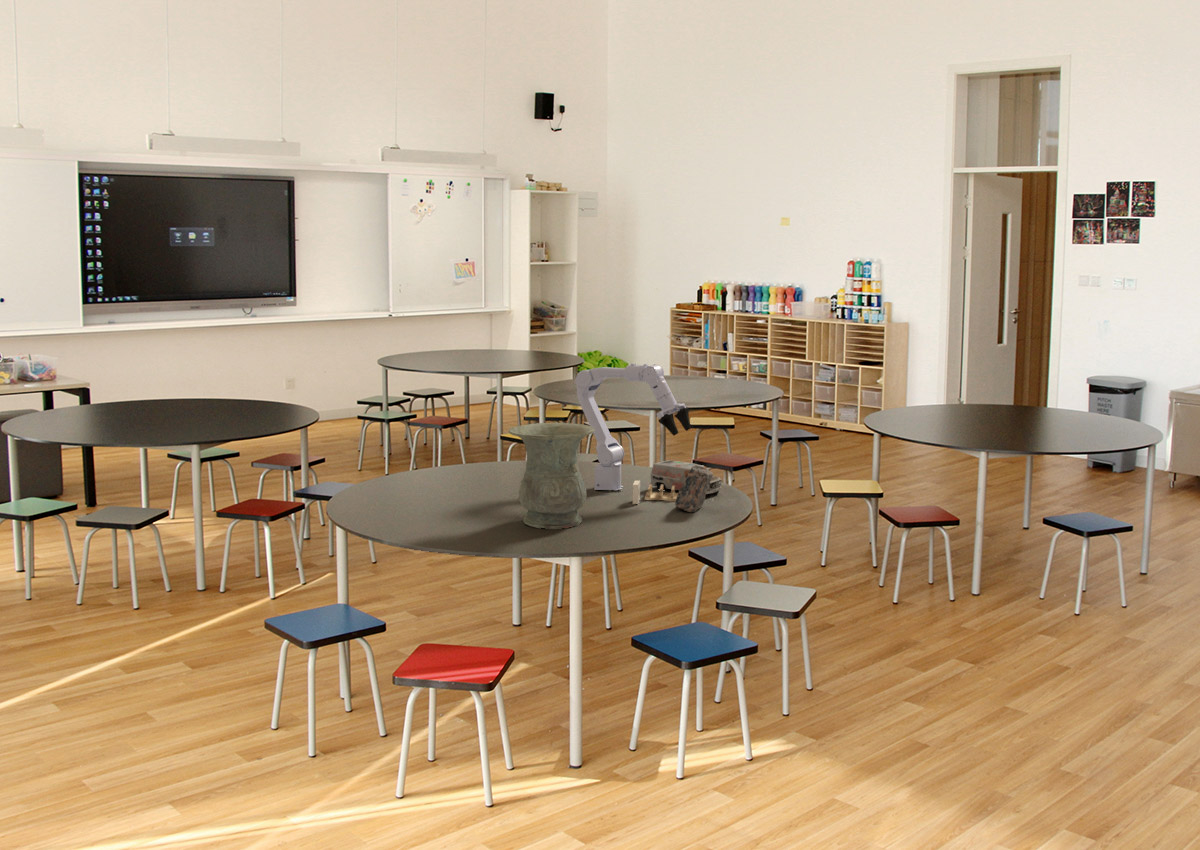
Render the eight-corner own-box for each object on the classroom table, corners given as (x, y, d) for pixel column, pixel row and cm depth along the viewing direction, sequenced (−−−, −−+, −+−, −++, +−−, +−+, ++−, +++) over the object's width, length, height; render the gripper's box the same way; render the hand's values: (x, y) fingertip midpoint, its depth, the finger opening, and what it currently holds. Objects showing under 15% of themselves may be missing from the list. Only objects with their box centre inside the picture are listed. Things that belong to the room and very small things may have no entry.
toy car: (706, 499, 388) (707, 471, 386) (648, 489, 403) (648, 462, 402) (723, 494, 396) (723, 466, 395) (665, 485, 411) (665, 458, 410)
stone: (679, 514, 365) (680, 469, 362) (666, 505, 377) (666, 462, 375) (717, 512, 368) (718, 467, 366) (702, 503, 381) (703, 460, 378)
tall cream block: (632, 505, 379) (632, 484, 377) (634, 500, 385) (634, 480, 384) (638, 505, 378) (638, 484, 377) (639, 500, 385) (640, 480, 384)
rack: (644, 500, 385) (644, 489, 384) (646, 494, 394) (646, 483, 393) (676, 501, 384) (676, 490, 383) (678, 495, 392) (678, 484, 392)
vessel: (548, 508, 373) (548, 419, 368) (611, 520, 356) (611, 427, 352) (491, 523, 352) (490, 429, 348) (554, 537, 336) (554, 438, 331)
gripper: (660, 396, 379) (678, 431, 378) (684, 388, 390) (702, 422, 388) (646, 404, 384) (664, 440, 382) (670, 396, 395) (688, 430, 393)
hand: (682, 432), depth 386 cm, fingers open, 7 cm apart
